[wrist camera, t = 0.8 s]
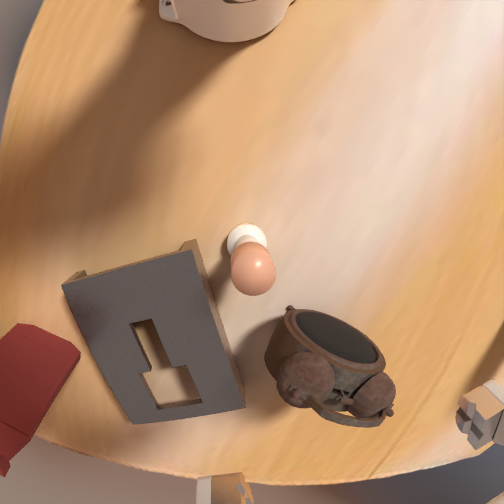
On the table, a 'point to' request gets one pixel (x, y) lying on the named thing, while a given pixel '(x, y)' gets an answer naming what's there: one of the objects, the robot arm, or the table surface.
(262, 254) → the peg
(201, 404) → the keyhole board
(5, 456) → the carton
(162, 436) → the table surface
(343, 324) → the alarm clock
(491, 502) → the robot arm
